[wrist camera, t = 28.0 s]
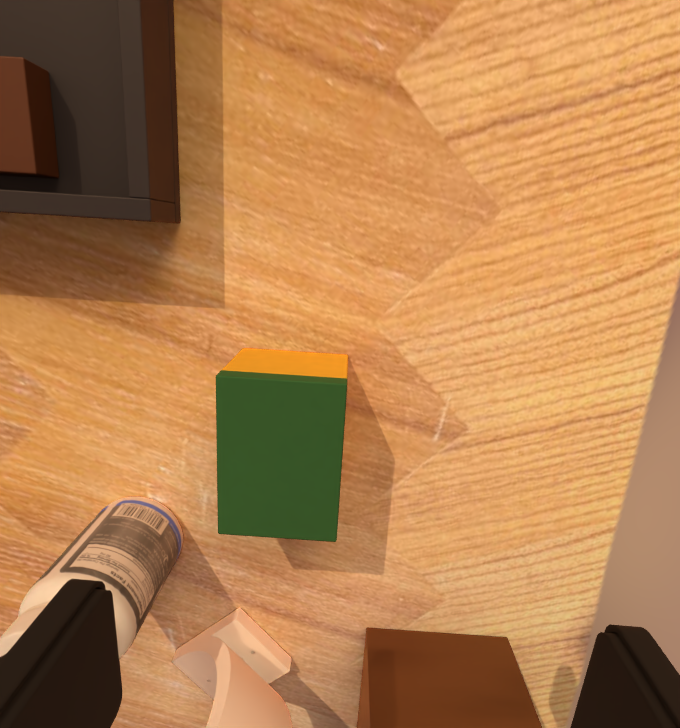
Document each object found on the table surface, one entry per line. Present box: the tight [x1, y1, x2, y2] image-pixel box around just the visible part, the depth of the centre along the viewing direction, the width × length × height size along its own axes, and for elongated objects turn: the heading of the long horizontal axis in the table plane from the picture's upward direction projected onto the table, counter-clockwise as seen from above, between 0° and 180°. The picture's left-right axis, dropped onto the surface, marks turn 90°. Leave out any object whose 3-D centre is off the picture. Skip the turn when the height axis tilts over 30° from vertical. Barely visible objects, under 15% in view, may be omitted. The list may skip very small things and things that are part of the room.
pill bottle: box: [0, 496, 183, 659], centre depth 20 cm, size 5×5×8 cm
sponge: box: [216, 348, 348, 542], centre depth 20 cm, size 7×5×4 cm
